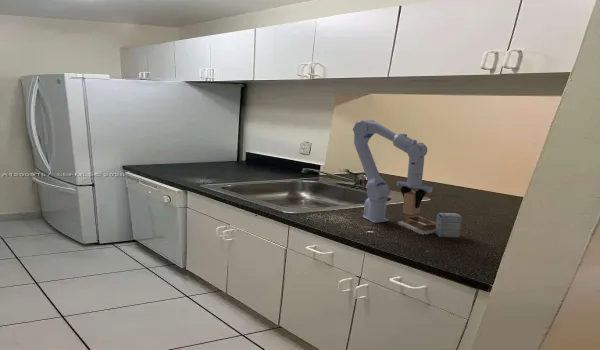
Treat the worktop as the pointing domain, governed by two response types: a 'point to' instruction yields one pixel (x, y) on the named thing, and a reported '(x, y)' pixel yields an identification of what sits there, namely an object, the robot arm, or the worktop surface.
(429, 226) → the cradle
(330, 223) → the worktop surface
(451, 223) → the medicine box
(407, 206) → the key block
